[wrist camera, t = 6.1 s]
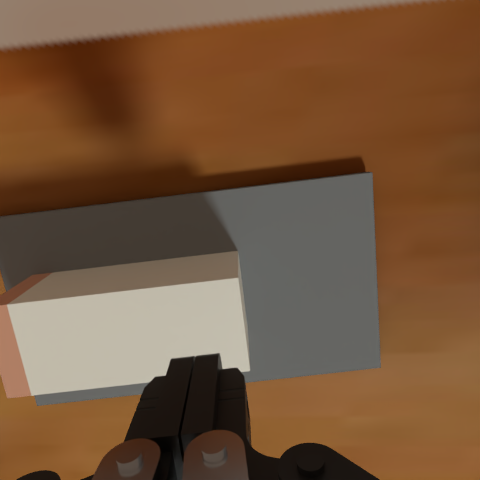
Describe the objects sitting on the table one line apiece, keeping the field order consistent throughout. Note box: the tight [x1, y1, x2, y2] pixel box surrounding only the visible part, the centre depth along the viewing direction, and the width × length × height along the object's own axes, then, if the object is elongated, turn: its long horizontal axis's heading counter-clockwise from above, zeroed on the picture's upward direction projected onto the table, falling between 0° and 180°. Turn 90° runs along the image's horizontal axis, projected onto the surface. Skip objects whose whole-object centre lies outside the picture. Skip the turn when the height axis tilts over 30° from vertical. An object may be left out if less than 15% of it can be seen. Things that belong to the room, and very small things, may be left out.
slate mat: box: [0, 172, 381, 406], centre depth 20 cm, size 18×10×1 cm, turn 97°
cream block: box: [0, 251, 250, 398], centre depth 18 cm, size 4×4×10 cm
